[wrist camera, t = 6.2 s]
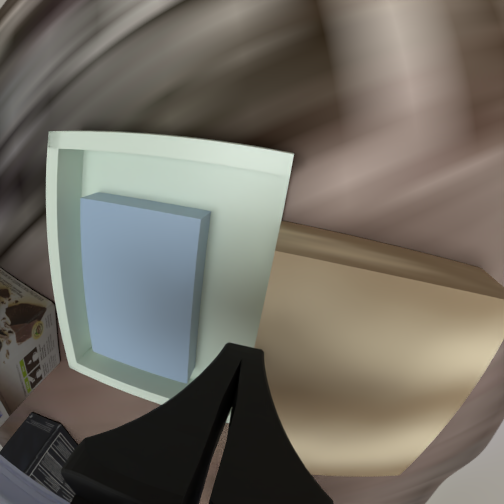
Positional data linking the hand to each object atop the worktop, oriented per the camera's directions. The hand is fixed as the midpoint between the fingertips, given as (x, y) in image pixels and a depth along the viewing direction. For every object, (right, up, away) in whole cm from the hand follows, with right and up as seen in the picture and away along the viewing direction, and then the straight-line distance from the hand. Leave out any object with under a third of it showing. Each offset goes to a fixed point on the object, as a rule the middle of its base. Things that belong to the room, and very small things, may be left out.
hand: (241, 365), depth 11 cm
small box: (-23, -19, +16) cm, 33 cm away
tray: (-4, +3, +4) cm, 7 cm away
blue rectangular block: (-5, +2, +3) cm, 6 cm away
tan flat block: (+6, -2, +5) cm, 8 cm away
